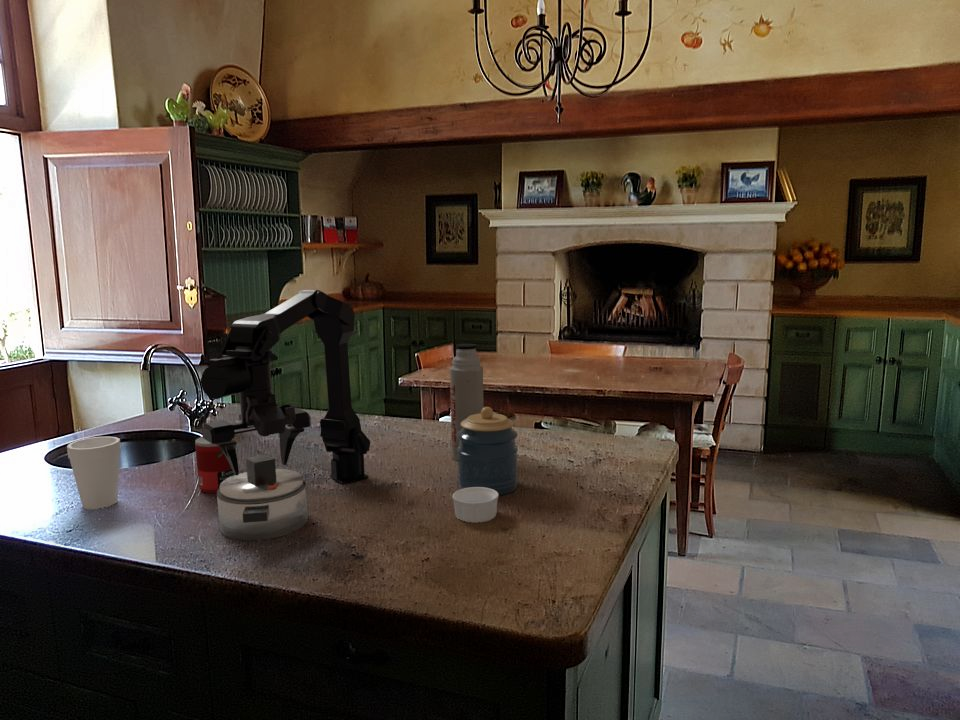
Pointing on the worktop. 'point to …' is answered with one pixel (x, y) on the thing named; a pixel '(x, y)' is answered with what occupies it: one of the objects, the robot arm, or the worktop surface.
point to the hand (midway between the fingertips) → (260, 469)
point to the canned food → (211, 466)
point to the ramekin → (475, 504)
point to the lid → (261, 481)
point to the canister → (487, 452)
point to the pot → (262, 516)
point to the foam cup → (96, 470)
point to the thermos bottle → (464, 389)
